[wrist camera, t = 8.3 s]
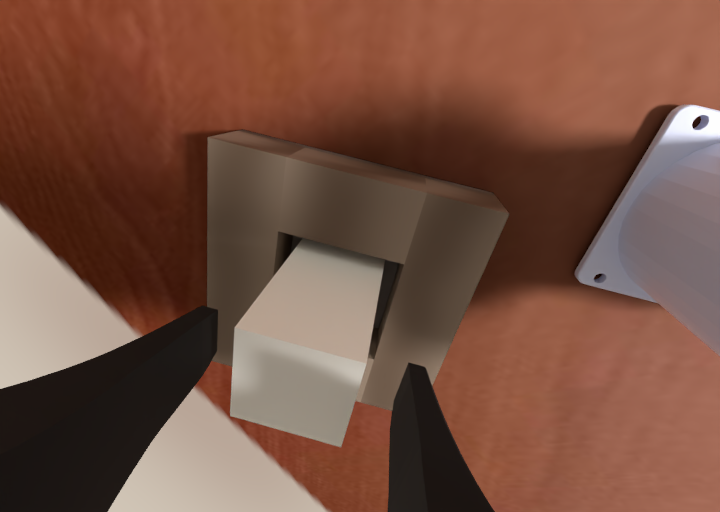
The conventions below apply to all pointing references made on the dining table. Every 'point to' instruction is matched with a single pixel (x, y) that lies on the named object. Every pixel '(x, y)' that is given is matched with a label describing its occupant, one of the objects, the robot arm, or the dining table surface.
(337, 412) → the peg
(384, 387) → the socket block
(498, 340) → the dining table surface
